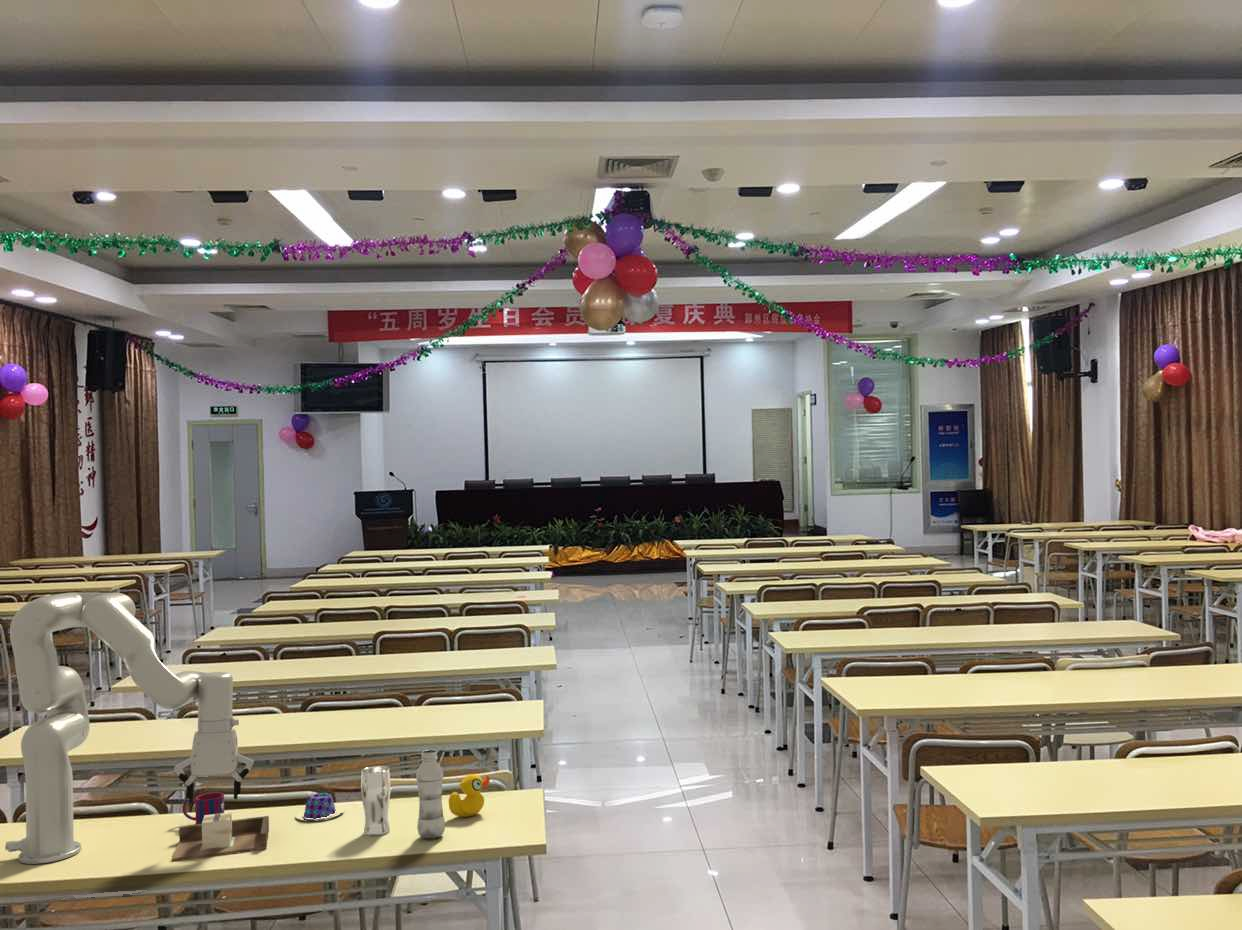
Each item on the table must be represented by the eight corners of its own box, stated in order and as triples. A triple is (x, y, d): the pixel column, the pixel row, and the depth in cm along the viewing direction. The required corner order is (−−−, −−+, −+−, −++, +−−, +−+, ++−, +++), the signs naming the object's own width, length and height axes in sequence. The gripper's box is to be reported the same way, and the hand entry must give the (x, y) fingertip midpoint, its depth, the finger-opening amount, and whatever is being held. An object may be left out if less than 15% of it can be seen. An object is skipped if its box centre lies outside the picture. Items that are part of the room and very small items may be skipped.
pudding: (353, 810, 258) (353, 790, 258) (325, 825, 246) (325, 804, 246) (314, 807, 261) (314, 787, 262) (285, 822, 250) (285, 801, 250)
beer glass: (381, 838, 234) (379, 774, 235) (356, 835, 236) (354, 772, 237) (397, 828, 241) (395, 766, 241) (372, 826, 243) (371, 764, 244)
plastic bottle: (450, 833, 236) (448, 748, 237) (437, 843, 230) (435, 755, 230) (425, 831, 238) (423, 747, 239) (412, 841, 231) (410, 754, 232)
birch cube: (204, 841, 234) (204, 814, 234) (232, 837, 236) (231, 811, 236) (202, 849, 228) (201, 822, 229) (230, 845, 230) (229, 819, 230)
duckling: (485, 808, 255) (484, 768, 255) (495, 812, 251) (494, 773, 251) (445, 817, 248) (444, 777, 249) (455, 822, 244) (453, 781, 244)
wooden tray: (172, 861, 223) (172, 845, 223) (180, 841, 237) (179, 826, 237) (266, 849, 229) (266, 833, 229) (268, 830, 243) (268, 815, 243)
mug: (216, 827, 246) (216, 800, 247) (177, 828, 247) (177, 800, 247) (229, 819, 253) (228, 792, 253) (191, 819, 254) (191, 792, 254)
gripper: (255, 720, 239) (253, 791, 239) (177, 725, 234) (175, 798, 234) (253, 726, 232) (252, 800, 232) (173, 731, 227) (171, 807, 226)
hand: (213, 799), depth 233 cm, fingers open, 9 cm apart
